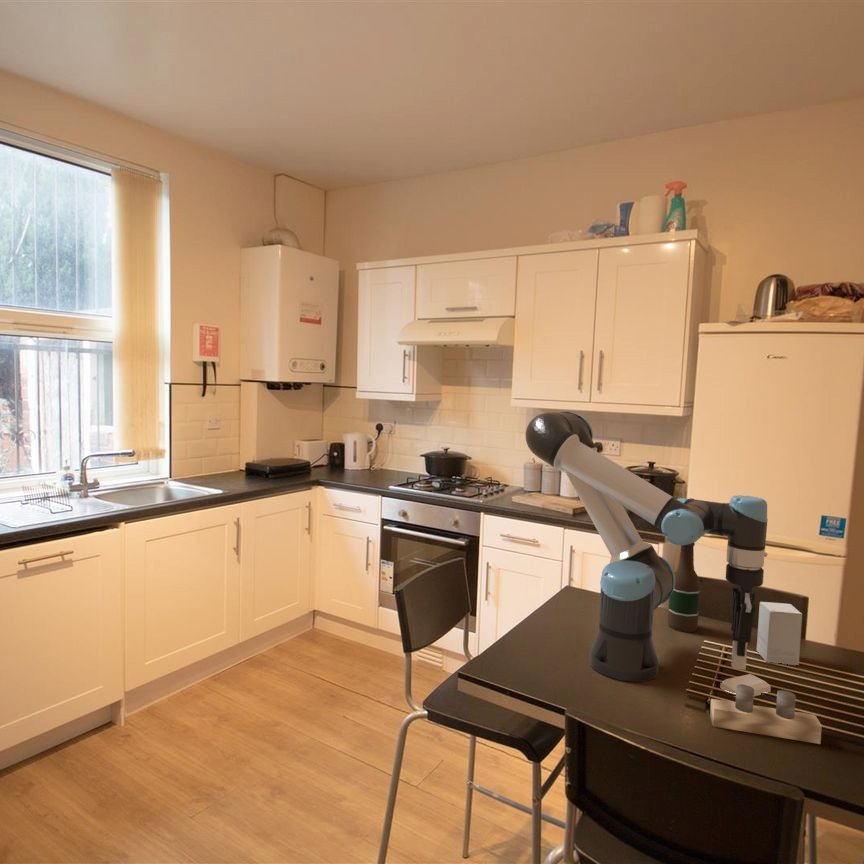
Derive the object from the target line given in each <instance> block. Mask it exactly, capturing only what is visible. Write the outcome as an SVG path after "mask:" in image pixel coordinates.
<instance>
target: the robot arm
mask: <svg viewBox="0 0 864 864" xmlns="http://www.w3.org/2000/svg"><path fill="white" fill-rule="evenodd" d="M593 432H594V431H593V428H592V425H591V423H590V422H589V420H588V419H586V418H585V417H584V416H582V415H581V414H578V413H576V412H572V411H560V412H542V413H541V414H538V415H535V416H534V417H533V418H532V419H531V420H530V422H528V425H527V426H526V430H525V442H526V446H527V447H528V449H529V450H530V451H531V452H532V454H533V455H535V456H536V457H537V458H539V459H540V460H542V461H543V462H545V463H546V464H548V465H549V466H551V467H553V468H554V469H555V470H557V471H560V472H564V473H565V474H566V476H567V478H568V479H569V482H570V483H571V485H572V486H573V489H574V490H575V493H576V494H577V495H578V496H577V497H578V498H579V499H580V501H581V503H582V504H583V508H584V509H585V511H586V512H587V514H588V516H589V518H590V520H591V521H592V524H593V525H594V527H595V529H596V531H597V533H598V534H599V536H600V538H601V540H602V541H603V544H604V545H605V547H606V549H607V551H608V553H609V554H610V561H609V563H608V564H606V565H605V566H604V567H603V569H602V571H601V576H600V583H599V584H600V591H599V592H600V595H599V598H600V600H599V618H598V620H599V621H598V623H599V624H598V632H597V633H596V636H595V639H594V641H593V644H592V646H591V649H590V651H589V664H590V667H592V668H593V670H595V671H596V672H598V673H599V674H601V675H603V676H606V677H609V678H612V679H615V680H619V681H624V682H625V681H626V682H646V681H651V680H652V679H654V678H656V677H657V676H658V674H659V660H658V655H657V652H656V648H655V646H654V641H653V623H654V622H653V621H654V619H653V617H654V611H655V610H657V608H659V607H660V606H661V605H663V604H664V603H665V602H667V600H669V597H670V596H671V594H672V592H673V590H674V587H675V582H676V579H675V570H674V568H673V567H672V565H671V564H670V563H669V561H668V560H667V559H665V558H664V557H662V556H660V555H659V554H658V553H657V551H656V550H655V548H654V546H653V544H652V543H650V542H649V543H648V542H646V541H644V540H643V539H642V538H641V536H640V534H639V533H638V530H637V529H636V527H635V525H634V523H633V522H632V520H631V518H630V517H629V515H628V513H627V511H626V509H628V510H629V511H630V512H632V513H633V514H636V515H637V516H639V517H640V518H642V519H643V520H645V521H646V522H648V523H650V524H652V526H655V527H656V528H658V529H659V530H661V532H662V534H663V536H664V538H665V539H666V540H667V541H668V542H669V543H671V544H673V545H676V546H681V545H688V544H691V543H696V542H698V540H699V539H701V537H703V536H705V535H714V536H720V537H727V544H726V562H727V564H725V565H726V566H725V567H726V568H725V580H726V581H727V582H728V583H730V584H733V585H734V587H731V588H730V590H731V627H730V631H732V636H731V641H732V647H731V652H732V653H731V663H730V664H731V668H732V669H737V670H744V671H745V670H747V654H748V644H750V643H751V637H752V630H753V623H754V622H753V621H754V615H755V611H756V608H757V607H756V604H755V603H754V602H755V598H756V595H755V593H754V592H753V588H758V587H762V586H763V583H764V573H765V570H764V568H763V567H764V566H765V558H766V557H768V553H767V552H766V542H767V530H768V529H767V528H768V521H769V520H768V519H769V518H768V503H767V501H766V499H764V498H762V497H758V496H754V495H753V496H752V495H751V496H750V495H742V494H741V495H732V496H731V497H730V500H729V502H716V501H710V500H709V501H708V500H703V499H702V500H701V499H694V498H691V497H690V498H681V497H680V498H679V497H678V498H677V499H676V498H675V497H674V496H672V495H670V494H669V493H667V492H665V491H664V490H662V489H661V488H659V487H656V486H655V485H653V484H652V483H650V482H649V481H647V480H645V479H643V478H642V477H640V476H639V475H636V474H635V473H633V472H632V471H630V470H629V469H627V468H625V467H623V466H621V465H619V464H618V463H616V462H615V461H613V460H612V459H610V458H608V457H607V456H605V455H603V454H602V453H599V452H598V448H597V446H596V445H595V442H594V440H593V437H594V433H593ZM625 508H626V509H625Z"/></svg>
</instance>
